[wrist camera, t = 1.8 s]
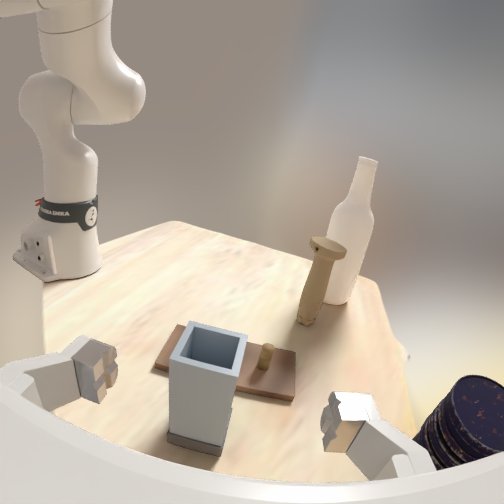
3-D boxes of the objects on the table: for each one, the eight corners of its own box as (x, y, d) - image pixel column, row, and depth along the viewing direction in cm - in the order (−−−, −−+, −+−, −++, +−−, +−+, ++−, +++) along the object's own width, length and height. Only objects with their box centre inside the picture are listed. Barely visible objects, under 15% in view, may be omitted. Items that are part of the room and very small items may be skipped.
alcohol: (302, 290, 62) (338, 150, 51) (325, 282, 68) (359, 156, 57) (334, 310, 57) (379, 161, 46) (354, 300, 62) (396, 167, 51)
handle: (304, 309, 55) (326, 236, 50) (325, 328, 50) (352, 251, 45) (284, 313, 53) (305, 236, 47) (305, 334, 48) (332, 252, 42)
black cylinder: (354, 477, 23) (431, 391, 17) (412, 448, 26) (481, 363, 21) (393, 540, 14) (501, 473, 9) (449, 499, 18) (537, 421, 12)
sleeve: (167, 442, 25) (165, 359, 20) (182, 406, 30) (188, 318, 25) (220, 457, 24) (240, 379, 20) (229, 418, 30) (250, 334, 25)
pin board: (155, 367, 34) (154, 342, 33) (177, 329, 43) (178, 305, 41) (292, 401, 34) (302, 378, 32) (293, 356, 42) (301, 333, 40)
